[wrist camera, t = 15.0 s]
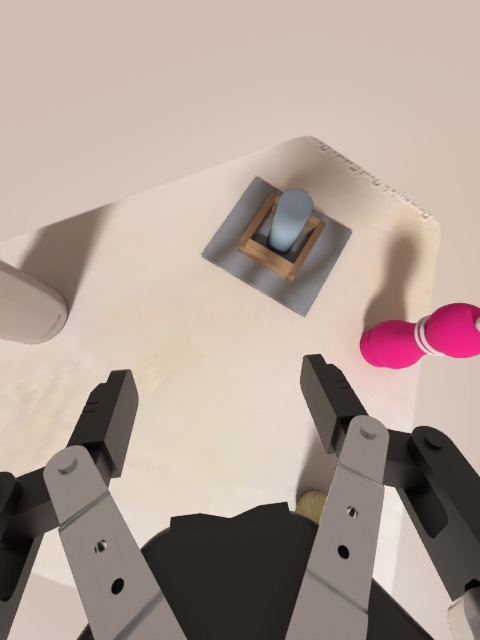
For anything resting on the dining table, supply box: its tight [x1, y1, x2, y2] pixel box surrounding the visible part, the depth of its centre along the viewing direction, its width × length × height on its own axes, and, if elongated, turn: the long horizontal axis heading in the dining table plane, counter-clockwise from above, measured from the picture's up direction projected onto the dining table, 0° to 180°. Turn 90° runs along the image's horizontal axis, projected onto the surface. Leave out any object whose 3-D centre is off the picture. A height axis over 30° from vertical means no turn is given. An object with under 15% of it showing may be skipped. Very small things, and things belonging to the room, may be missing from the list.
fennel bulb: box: [295, 490, 327, 524], centre depth 34 cm, size 6×5×12 cm
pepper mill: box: [360, 303, 480, 369], centre depth 36 cm, size 7×7×20 cm
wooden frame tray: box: [202, 177, 352, 317], centre depth 46 cm, size 20×18×4 cm
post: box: [266, 189, 313, 255], centre depth 42 cm, size 4×4×11 cm
